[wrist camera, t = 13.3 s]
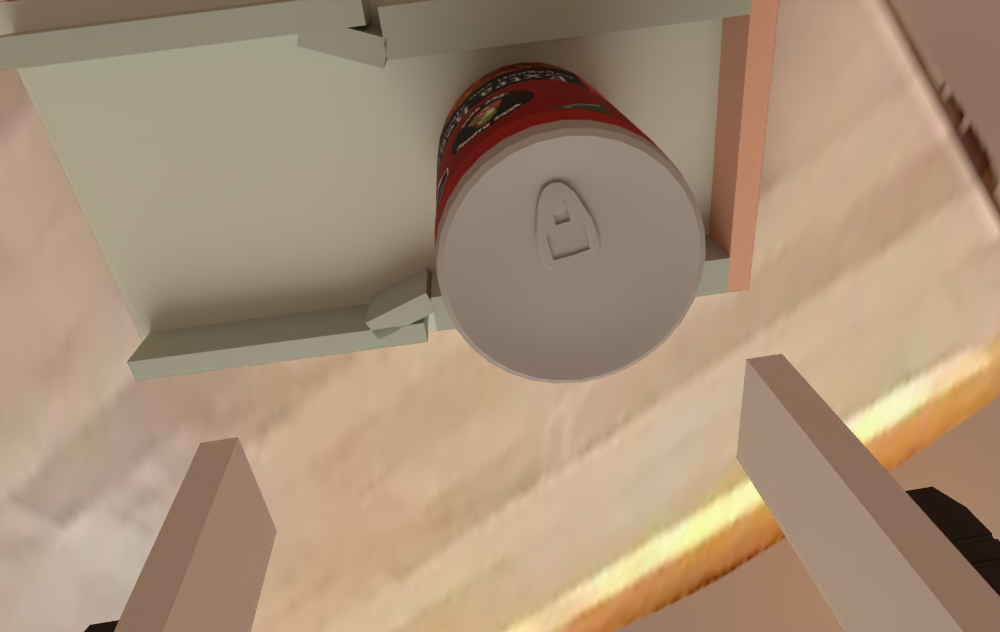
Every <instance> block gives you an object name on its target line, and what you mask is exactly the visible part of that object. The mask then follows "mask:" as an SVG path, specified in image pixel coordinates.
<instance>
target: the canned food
mask: <svg viewBox="0 0 1000 632" xmlns="http://www.w3.org/2000/svg"><path fill="white" fill-rule="evenodd" d="M434 236H435V260H436V274H437V279H438V283H439V288H440V291H441V295H442V298H443V302H444V305H445V309H446V310H447V312H448V314H449V316H450V318H451V320H452V322H453V324H454V325H455V327H456V329H457V331H458V332H459V333H460V334H461V335H462V337H463V338H464V339H465V340H466V341H467V343H468V344H469V345H470V346H471V347H472V348H473V349H474V350H475V351H476V352H478V353H479V354H480V355H481V356H483V357H484V358H485V359H486V360H488V361H489V362H490V363H492V364H494V365H496V366H498V367H499V368H501V369H503V370H505V371H507V372H509V373H511V374H514V375H517V376H520V377H524V378H527V379H530V380H534V381H541V382H549V383H579V382H584V381H589V380H594V379H599V378H603V377H606V376H608V375H611V374H614V373H616V372H619V371H622V370H624V369H626V368H628V367H630V366H631V365H633V364H635V363H636V362H638V361H640V360H642V359H643V358H645V357H646V356H648V355H649V354H650V353H651V352H653V351H654V350H655V349H656V348H657V347H659V346H660V345H661V344H662V343H663V342H665V340H666V339H667V338H668V337H669V336H670V335H671V333H672V332H673V331H674V330H675V329H676V328H677V326H678V325H679V324H680V323H681V321H682V320H683V318H684V316H685V315H686V313H687V311H688V310H689V308H690V306H691V304H692V303H693V301H694V298H695V295H696V293H697V290H698V287H699V284H700V282H701V279H702V274H703V267H704V261H705V255H706V249H705V228H704V225H703V221H702V217H701V213H700V209H699V205H698V203H697V201H696V199H695V197H694V195H693V193H692V191H691V189H690V187H689V185H688V184H687V182H686V180H685V179H684V177H683V175H682V173H681V172H680V171H679V170H678V169H677V167H676V166H675V165H674V164H673V163H672V161H671V160H670V159H669V158H668V157H667V155H666V154H665V153H664V152H663V151H662V150H661V149H659V148H658V147H657V145H656V144H655V143H654V142H653V141H652V140H651V139H650V138H649V137H648V136H647V135H645V134H644V133H643V132H642V131H641V130H640V129H639V128H638V127H637V126H635V125H634V124H633V123H632V122H631V121H630V120H629V119H628V118H627V117H625V116H624V115H623V114H622V113H621V112H620V111H619V110H618V109H617V108H615V107H614V106H613V105H612V104H611V103H610V102H609V101H608V100H607V99H605V98H604V97H603V96H602V95H601V94H600V93H599V92H598V91H597V90H595V89H594V88H593V87H592V86H591V85H589V84H588V83H587V82H586V81H584V80H583V79H582V78H580V77H579V76H578V75H576V74H574V73H572V72H570V71H567V70H565V69H563V68H561V67H558V66H554V65H549V64H545V63H517V64H513V65H508V66H504V67H501V68H499V69H497V70H494V71H492V72H490V73H488V74H486V75H484V76H483V77H481V78H480V79H479V80H477V81H476V82H475V83H473V84H472V85H471V86H469V87H468V88H467V89H466V91H465V92H464V93H463V94H462V95H461V96H460V97H459V99H458V100H457V101H456V102H455V104H454V106H453V107H452V109H451V111H450V113H449V114H448V116H447V118H446V120H445V123H444V126H443V129H442V132H441V135H440V140H439V148H438V156H437V183H436V209H435V235H434Z"/></svg>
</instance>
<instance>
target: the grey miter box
mask: <svg viewBox="0 0 1000 632" xmlns="http://www.w3.org/2000/svg"><path fill="white" fill-rule="evenodd" d="M778 5H779V0H16V1H8V2H0V34H1V35H0V71H5V70H13V69H17V71H18V73H19V76H20V78H21V80H22V82H23V84H24V86H25V88H26V91H27V93H28V95H29V97H30V99H31V101H32V104H33V106H34V108H35V110H36V112H37V114H38V117H39V119H40V121H41V123H42V125H43V127H44V130H45V132H46V134H47V136H48V138H49V140H50V142H51V145H52V147H53V149H54V151H55V153H56V155H57V158H58V160H59V162H60V164H61V166H62V168H63V171H64V173H65V175H66V177H67V179H68V181H69V184H70V186H71V188H72V190H73V192H74V194H75V196H76V199H77V201H78V203H79V205H80V207H81V209H82V212H83V214H84V216H85V218H86V220H87V222H88V225H89V227H90V229H91V231H92V233H93V235H94V237H95V240H96V242H97V244H98V246H99V248H100V250H101V253H102V255H103V257H104V259H105V261H106V263H107V266H108V268H109V270H110V272H111V274H112V276H113V279H114V281H115V283H116V285H117V287H118V289H119V291H120V294H121V296H122V298H123V300H124V302H125V304H126V307H127V309H128V311H129V313H130V315H131V317H132V320H133V322H134V324H135V326H136V328H137V330H138V333H139V335H140V337H141V339H142V341H143V342H142V343H141V345H140V346H139V347H138V349H137V350H136V351H135V352H134V354H133V355H132V356H131V358H130V359H129V360H128V362H127V363H128V365H129V367H130V369H131V371H132V373H133V375H134V377H135V380H136V381H138V380H146V379H153V378H161V377H168V376H176V375H184V374H191V373H199V372H206V371H214V370H221V369H229V368H236V367H244V366H251V365H259V364H266V363H274V362H281V361H289V360H296V359H304V358H311V357H319V356H326V355H334V354H341V353H349V352H356V351H364V350H372V349H379V348H387V347H394V346H402V345H409V344H417V343H424V342H428V332H435V331H442V330H450V329H456V327H455V325H454V324H453V322H452V320H451V318H450V316H449V314H448V312H447V310H446V309H445V305H444V302H443V298H442V295H441V291H440V288H439V283H438V279H437V274H436V260H435V236H434V235H435V209H436V183H437V156H438V148H439V140H440V135H441V132H442V129H443V126H444V123H445V120H446V118H447V116H448V114H449V113H450V111H451V109H452V107H453V106H454V104H455V102H456V101H457V100H458V99H459V97H460V96H461V95H462V94H463V93H464V92H465V91H466V89H467V88H468V87H469V86H471V85H472V84H473V83H475V82H476V81H477V80H479V79H480V78H481V77H483V76H484V75H486V74H488V73H490V72H492V71H494V70H497V69H499V68H501V67H504V66H508V65H513V64H517V63H545V64H549V65H554V66H558V67H561V68H563V69H565V70H567V71H570V72H572V73H574V74H576V75H578V76H579V77H580V78H582V79H583V80H584V81H586V82H587V83H588V84H589V85H591V86H592V87H593V88H594V89H595V90H597V91H598V92H599V93H600V94H601V95H602V96H603V97H604V98H605V99H607V100H608V101H609V102H610V103H611V104H612V105H613V106H614V107H615V108H617V109H618V110H619V111H620V112H621V113H622V114H623V115H624V116H625V117H627V118H628V119H629V120H630V121H631V122H632V123H633V124H634V125H635V126H637V127H638V128H639V129H640V130H641V131H642V132H643V133H644V134H645V135H647V136H648V137H649V138H650V139H651V140H652V141H653V142H654V143H655V144H656V145H657V147H658V148H659V149H661V150H662V151H663V152H664V153H665V154H666V155H667V157H668V158H669V159H670V160H671V161H672V163H673V164H674V165H675V166H676V167H677V169H678V170H679V171H680V172H681V173H682V175H683V177H684V179H685V180H686V182H687V184H688V185H689V187H690V189H691V191H692V193H693V195H694V197H695V199H696V201H697V203H698V205H699V209H700V213H701V217H702V221H703V225H704V228H705V249H706V255H705V261H704V267H703V274H702V279H701V282H700V284H699V287H698V290H697V293H696V295H695V297H698V296H706V295H713V294H721V293H728V292H735V291H743V290H749V287H750V277H751V267H752V258H753V248H754V238H755V228H756V219H757V209H758V199H759V189H760V180H761V170H762V160H763V151H764V141H765V131H766V121H767V112H768V102H769V92H770V82H771V73H772V63H773V53H774V44H775V34H776V24H777V14H778Z"/></svg>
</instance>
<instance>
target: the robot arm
mask: <svg viewBox="0 0 1000 632" xmlns="http://www.w3.org/2000/svg"><path fill="white" fill-rule="evenodd" d="M737 459H738V461H739V462H740V464H741V465H742V467H743V469H744V470H745V472H746V474H747V475H748V477H749V478H750V480H751V482H752V483H753V485H754V486H755V488H756V490H757V491H758V493H759V494H760V496H761V498H762V499H763V501H764V502H765V504H766V506H767V507H768V509H769V510H770V512H771V514H772V515H773V517H774V519H775V520H776V522H777V523H778V525H779V527H780V528H781V530H782V531H783V533H784V535H785V536H786V538H787V539H788V541H789V542H790V544H791V546H792V547H793V549H794V551H795V552H796V554H797V555H798V557H799V559H800V560H801V562H802V563H803V565H804V567H805V568H806V570H807V571H808V573H809V575H810V576H811V578H812V580H813V581H814V583H815V584H816V586H817V588H818V589H819V591H820V592H821V594H822V596H823V597H824V599H825V600H826V602H827V604H828V605H829V607H830V609H831V610H832V612H833V613H834V615H835V616H836V618H837V620H838V621H839V623H840V625H841V626H842V628H843V629H844V631H845V632H1000V541H998V539H994V538H993V537H992V533H991V532H990V531H989V530H988V529H987V528H986V527H985V526H984V525H983V524H982V523H981V522H980V521H979V520H978V519H977V518H976V517H975V516H974V515H973V514H972V513H971V512H970V511H969V510H968V509H967V508H966V507H965V506H963V505H962V504H960V503H958V502H956V501H955V500H953V499H952V498H950V497H949V496H947V495H945V494H944V493H942V492H940V491H939V490H937V489H935V488H934V487H928V488H922V489H916V490H909V491H904V490H903V489H902V487H901V486H900V485H899V484H898V483H897V482H896V481H895V479H894V478H893V477H892V476H891V475H890V474H889V473H888V472H887V471H886V469H885V468H884V467H883V466H882V465H881V464H880V463H879V462H878V461H877V459H876V458H875V457H874V456H873V455H872V454H871V453H870V452H869V450H868V449H867V448H866V447H865V446H864V445H863V444H862V443H861V442H860V440H859V439H858V438H857V437H856V436H855V435H854V434H853V433H852V432H851V430H850V429H849V428H848V427H847V426H846V425H845V424H844V423H843V422H842V420H841V419H840V418H839V417H838V416H837V415H836V414H835V413H834V411H833V410H832V409H831V408H830V407H829V406H828V405H827V404H826V403H825V401H824V400H823V399H822V398H821V397H820V396H819V395H818V394H817V393H816V391H815V390H814V389H813V388H812V387H811V386H810V385H809V384H808V382H807V381H806V380H805V379H804V378H803V377H802V376H801V375H800V374H799V372H798V371H797V370H796V369H795V368H794V367H793V366H792V365H791V364H790V362H789V361H788V360H787V359H786V358H785V357H784V356H783V355H782V354H778V355H771V356H765V357H758V358H752V359H746V368H745V378H744V388H743V398H742V408H741V419H740V429H739V439H738V449H737ZM275 535H276V528H275V526H274V523H273V521H272V518H271V516H270V514H269V511H268V509H267V506H266V504H265V501H264V499H263V497H262V494H261V492H260V489H259V487H258V484H257V482H256V480H255V477H254V475H253V472H252V470H251V467H250V465H249V463H248V460H247V458H246V455H245V453H244V450H243V448H242V446H241V443H240V441H239V438H238V437H237V438H230V439H224V440H217V441H211V442H204V443H200V445H199V447H198V450H197V452H196V454H195V456H194V458H193V460H192V463H191V465H190V467H189V469H188V471H187V474H186V476H185V478H184V480H183V482H182V484H181V487H180V489H179V491H178V493H177V495H176V497H175V500H174V502H173V504H172V506H171V508H170V511H169V513H168V515H167V517H166V519H165V521H164V524H163V526H162V528H161V530H160V532H159V535H158V537H157V539H156V541H155V543H154V545H153V548H152V550H151V552H150V554H149V556H148V559H147V561H146V563H145V565H144V567H143V569H142V572H141V574H140V576H139V578H138V580H137V582H136V585H135V587H134V589H133V591H132V593H131V596H130V598H129V600H128V602H127V604H126V606H125V609H124V611H123V613H122V615H121V617H120V620H118V621H112V622H105V623H99V624H93V625H90V626H89V627H88V628H87V629H86V630H85V631H84V632H251V628H252V625H253V621H254V617H255V613H256V609H257V605H258V601H259V597H260V593H261V590H262V586H263V582H264V578H265V574H266V570H267V566H268V562H269V558H270V554H271V551H272V547H273V543H274V539H275Z"/></svg>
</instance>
